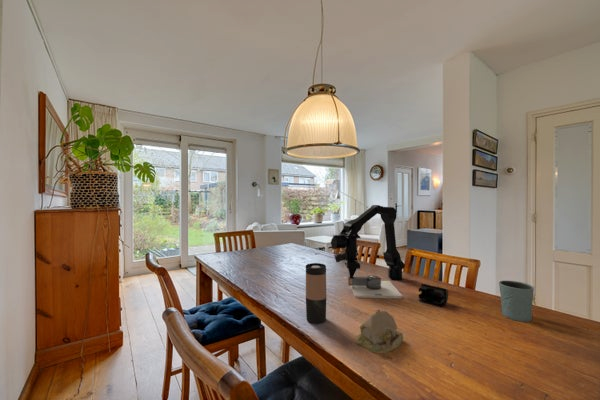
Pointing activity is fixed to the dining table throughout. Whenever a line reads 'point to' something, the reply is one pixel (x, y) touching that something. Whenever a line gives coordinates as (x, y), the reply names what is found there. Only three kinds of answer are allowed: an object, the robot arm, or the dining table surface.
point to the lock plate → (377, 291)
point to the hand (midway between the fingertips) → (351, 278)
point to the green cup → (516, 300)
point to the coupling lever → (365, 281)
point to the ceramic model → (379, 333)
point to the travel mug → (316, 293)
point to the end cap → (433, 295)
